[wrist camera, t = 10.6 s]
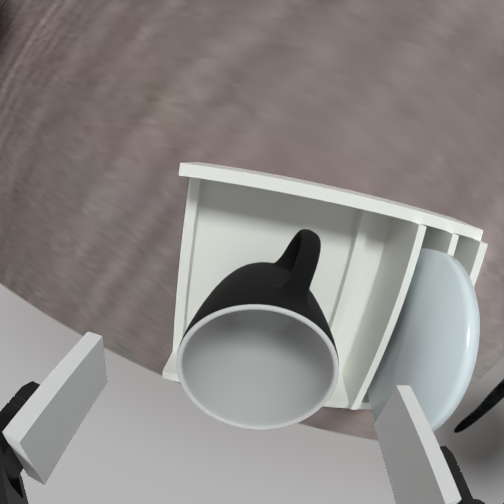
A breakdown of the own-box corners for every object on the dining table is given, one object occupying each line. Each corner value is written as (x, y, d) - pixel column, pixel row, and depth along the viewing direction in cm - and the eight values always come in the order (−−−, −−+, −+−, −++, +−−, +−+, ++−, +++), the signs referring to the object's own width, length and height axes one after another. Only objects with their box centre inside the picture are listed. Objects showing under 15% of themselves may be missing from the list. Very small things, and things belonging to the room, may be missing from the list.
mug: (288, 359, 27) (291, 445, 18) (195, 321, 27) (158, 398, 17) (356, 240, 24) (403, 292, 14) (250, 191, 23) (231, 214, 14)
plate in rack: (356, 365, 27) (390, 476, 15) (401, 229, 23) (497, 293, 11) (367, 366, 27) (406, 475, 15) (413, 232, 23) (512, 296, 11)
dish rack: (178, 346, 29) (158, 385, 23) (198, 162, 24) (175, 163, 18) (393, 378, 28) (411, 417, 23) (452, 217, 24) (490, 233, 18)
